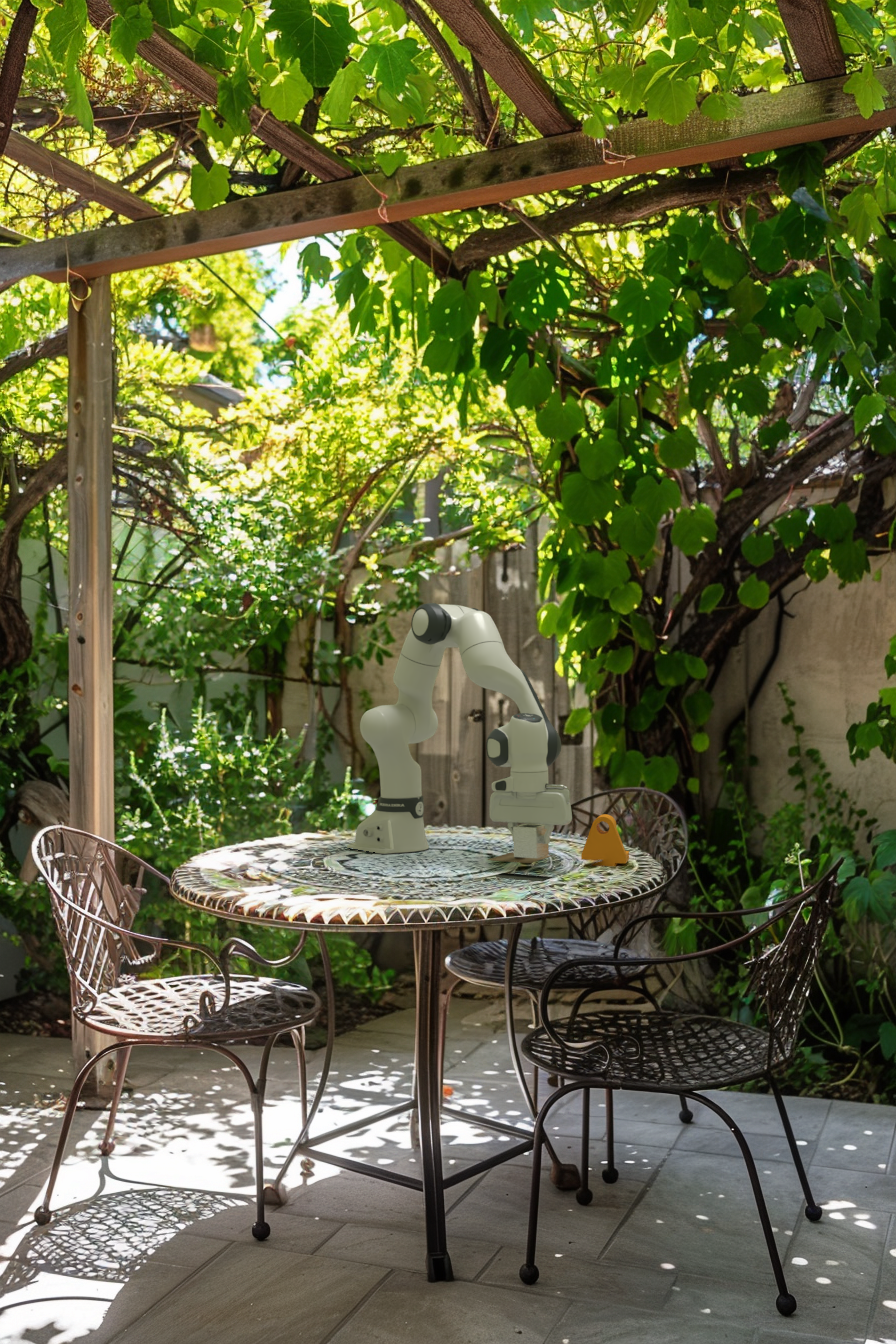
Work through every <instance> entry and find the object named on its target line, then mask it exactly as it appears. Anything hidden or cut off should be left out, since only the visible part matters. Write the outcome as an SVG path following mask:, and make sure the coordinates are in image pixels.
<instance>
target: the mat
mask: <svg viewBox="0 0 896 1344" xmlns="http://www.w3.org/2000/svg"><path fill="white" fill-rule="evenodd" d="M495 875H496V876H495V877H496V879H497V878H498V879H508V880H509V879H510V880H520V881H531V882H532V881H533V882H544V881H547V880H550V879H553V878H554V876H547V875H546V876H545V875H535V874H524V873H523V874H522V873H509V872H502V873H499V874H495Z"/></svg>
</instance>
